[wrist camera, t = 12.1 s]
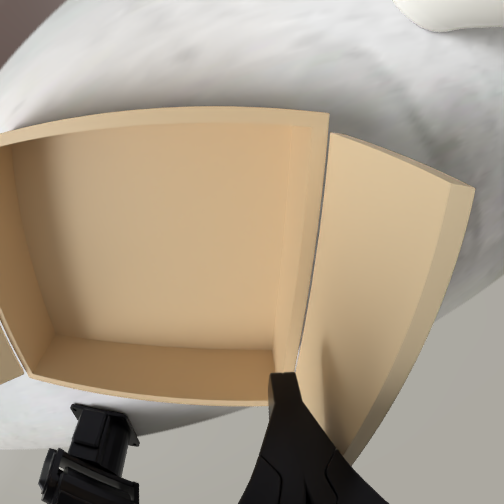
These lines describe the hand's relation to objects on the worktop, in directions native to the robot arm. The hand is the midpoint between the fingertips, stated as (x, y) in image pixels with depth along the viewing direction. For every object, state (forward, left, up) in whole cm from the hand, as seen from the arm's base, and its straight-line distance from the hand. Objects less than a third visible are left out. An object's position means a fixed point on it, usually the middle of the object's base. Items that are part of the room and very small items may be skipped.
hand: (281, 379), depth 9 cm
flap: (0, -2, -1) cm, 2 cm away
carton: (0, +7, -10) cm, 12 cm away
